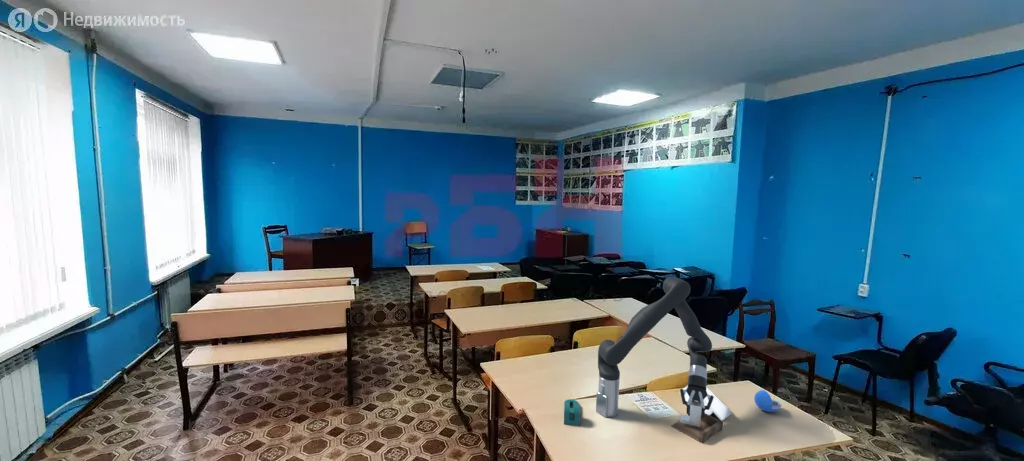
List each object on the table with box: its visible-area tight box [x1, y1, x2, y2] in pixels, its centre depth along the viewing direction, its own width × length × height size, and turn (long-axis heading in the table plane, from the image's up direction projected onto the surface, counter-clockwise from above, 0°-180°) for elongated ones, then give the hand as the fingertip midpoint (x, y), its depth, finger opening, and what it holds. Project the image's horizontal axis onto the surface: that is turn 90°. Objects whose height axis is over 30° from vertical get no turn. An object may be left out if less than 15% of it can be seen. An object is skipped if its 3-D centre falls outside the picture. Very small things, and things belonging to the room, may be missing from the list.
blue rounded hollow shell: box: [753, 389, 783, 413], centre depth 190 cm, size 10×12×10 cm
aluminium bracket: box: [679, 400, 702, 427], centre depth 174 cm, size 8×4×9 cm, turn 65°
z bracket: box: [679, 384, 733, 422], centre depth 192 cm, size 12×25×6 cm
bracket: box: [563, 398, 581, 427], centre depth 182 cm, size 18×7×8 cm, turn 172°
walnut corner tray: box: [670, 413, 724, 444], centre depth 174 cm, size 16×14×4 cm
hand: (695, 416), depth 171 cm, fingers closed on aluminium bracket, 4 cm apart
